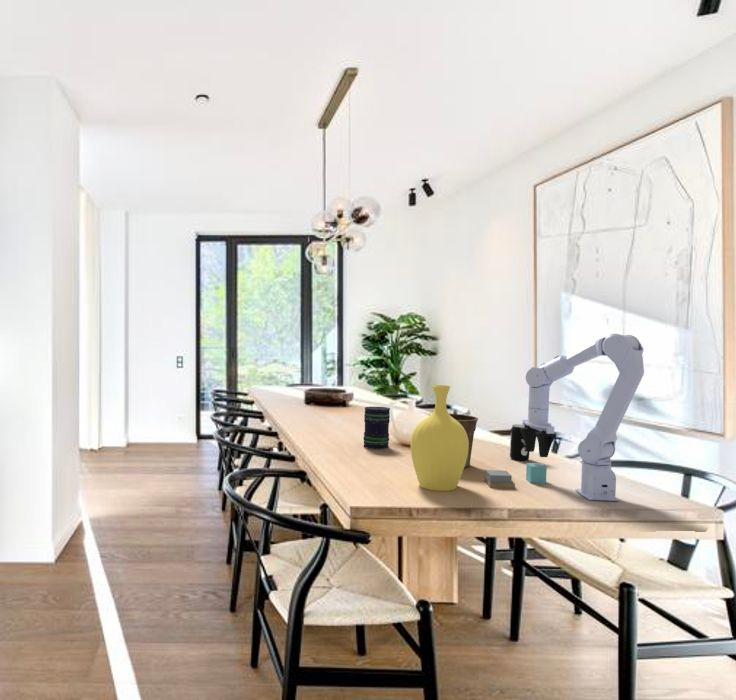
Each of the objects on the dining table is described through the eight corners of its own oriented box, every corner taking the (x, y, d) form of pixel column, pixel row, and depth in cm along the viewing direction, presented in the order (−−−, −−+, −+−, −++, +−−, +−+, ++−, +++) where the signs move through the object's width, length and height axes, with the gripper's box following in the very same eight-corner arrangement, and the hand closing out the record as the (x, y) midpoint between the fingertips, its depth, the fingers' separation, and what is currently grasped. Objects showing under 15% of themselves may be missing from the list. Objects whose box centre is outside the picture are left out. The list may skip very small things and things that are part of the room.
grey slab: (511, 482, 148) (511, 475, 148) (490, 482, 148) (490, 475, 148) (505, 477, 154) (506, 470, 154) (485, 476, 154) (485, 469, 154)
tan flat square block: (514, 490, 147) (515, 483, 147) (489, 489, 147) (489, 482, 147) (508, 484, 154) (508, 477, 154) (484, 483, 154) (484, 476, 154)
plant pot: (484, 464, 177) (485, 416, 177) (465, 473, 164) (466, 421, 164) (440, 457, 186) (441, 411, 186) (418, 465, 173) (420, 416, 173)
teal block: (546, 484, 154) (546, 467, 154) (530, 483, 154) (531, 466, 154) (541, 480, 158) (541, 463, 158) (526, 479, 158) (526, 463, 158)
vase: (397, 485, 147) (400, 384, 147) (431, 476, 158) (434, 382, 158) (445, 497, 136) (449, 388, 136) (478, 486, 148) (481, 386, 147)
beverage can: (516, 461, 184) (517, 427, 184) (506, 457, 190) (507, 424, 190) (532, 461, 186) (533, 427, 185) (522, 457, 192) (523, 424, 192)
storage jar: (362, 444, 207) (363, 406, 207) (386, 444, 208) (388, 406, 208) (364, 449, 197) (365, 409, 197) (390, 449, 198) (391, 409, 198)
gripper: (564, 411, 150) (562, 459, 150) (537, 405, 164) (536, 449, 164) (542, 411, 148) (540, 459, 148) (516, 405, 162) (515, 449, 162)
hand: (536, 454), depth 156 cm, fingers open, 7 cm apart
